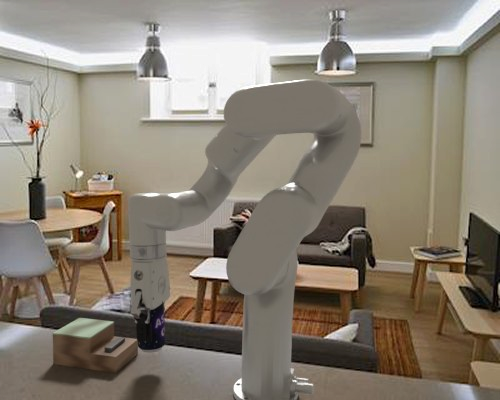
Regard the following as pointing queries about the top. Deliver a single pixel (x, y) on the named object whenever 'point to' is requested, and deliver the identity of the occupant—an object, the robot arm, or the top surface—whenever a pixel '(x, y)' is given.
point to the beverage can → (155, 330)
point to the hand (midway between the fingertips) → (151, 334)
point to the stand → (92, 346)
